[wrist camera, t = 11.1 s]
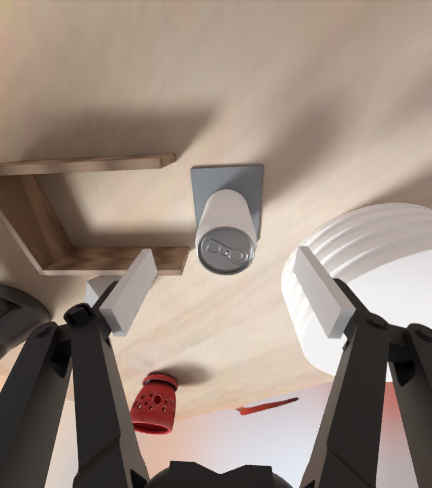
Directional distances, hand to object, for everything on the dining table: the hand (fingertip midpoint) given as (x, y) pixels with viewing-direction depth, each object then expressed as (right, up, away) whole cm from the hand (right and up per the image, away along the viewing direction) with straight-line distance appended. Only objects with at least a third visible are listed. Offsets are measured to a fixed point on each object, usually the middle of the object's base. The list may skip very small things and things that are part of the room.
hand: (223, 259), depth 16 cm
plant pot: (-19, -45, +44) cm, 66 cm away
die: (-20, -6, +21) cm, 30 cm away
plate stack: (+26, -4, +17) cm, 31 cm away
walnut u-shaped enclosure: (-17, +7, +13) cm, 23 cm away
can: (+1, +7, +11) cm, 13 cm away
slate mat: (+1, +7, +11) cm, 14 cm away
